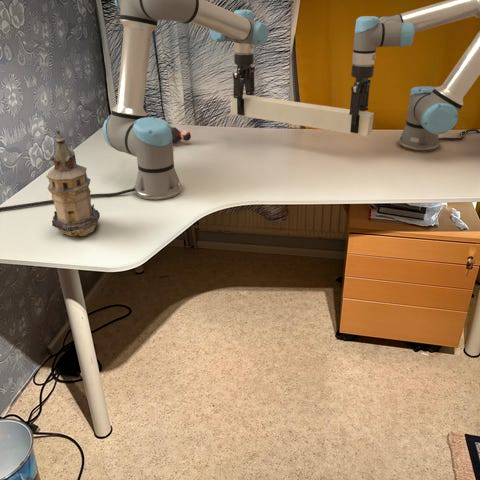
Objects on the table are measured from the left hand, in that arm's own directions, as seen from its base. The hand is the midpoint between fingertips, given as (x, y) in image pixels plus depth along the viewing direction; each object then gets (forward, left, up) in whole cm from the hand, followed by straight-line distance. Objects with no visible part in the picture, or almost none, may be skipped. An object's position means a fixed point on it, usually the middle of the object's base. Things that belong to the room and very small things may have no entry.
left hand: (244, 112), depth 218 cm
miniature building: (-56, -73, -11) cm, 93 cm away
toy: (-37, 0, -11) cm, 38 cm away
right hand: (+39, -28, 0) cm, 48 cm away
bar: (+19, -14, -1) cm, 24 cm away
